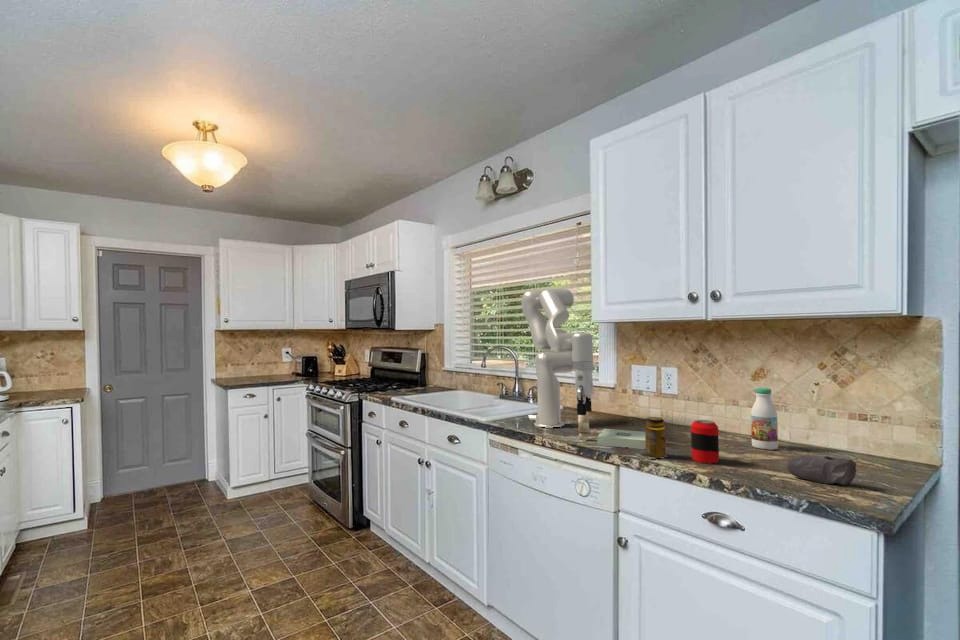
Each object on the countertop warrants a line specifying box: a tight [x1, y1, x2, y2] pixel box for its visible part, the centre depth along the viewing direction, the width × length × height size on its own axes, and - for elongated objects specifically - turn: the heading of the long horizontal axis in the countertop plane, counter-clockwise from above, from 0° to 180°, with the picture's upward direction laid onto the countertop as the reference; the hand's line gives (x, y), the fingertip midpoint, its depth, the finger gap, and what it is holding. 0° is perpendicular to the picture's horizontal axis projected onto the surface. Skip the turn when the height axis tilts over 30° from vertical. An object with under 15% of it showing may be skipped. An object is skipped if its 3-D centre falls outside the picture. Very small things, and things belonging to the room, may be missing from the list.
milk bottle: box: [750, 387, 779, 451], centre depth 160 cm, size 8×8×20 cm
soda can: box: [690, 419, 720, 464], centre depth 145 cm, size 8×8×12 cm
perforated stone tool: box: [785, 455, 857, 486], centre depth 124 cm, size 15×5×7 cm, turn 47°
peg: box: [577, 411, 590, 441], centre depth 174 cm, size 4×4×10 cm
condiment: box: [635, 416, 667, 459], centre depth 151 cm, size 7×8×12 cm
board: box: [596, 428, 646, 450], centre depth 169 cm, size 16×14×3 cm
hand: (584, 413), depth 173 cm, fingers open, 9 cm apart
